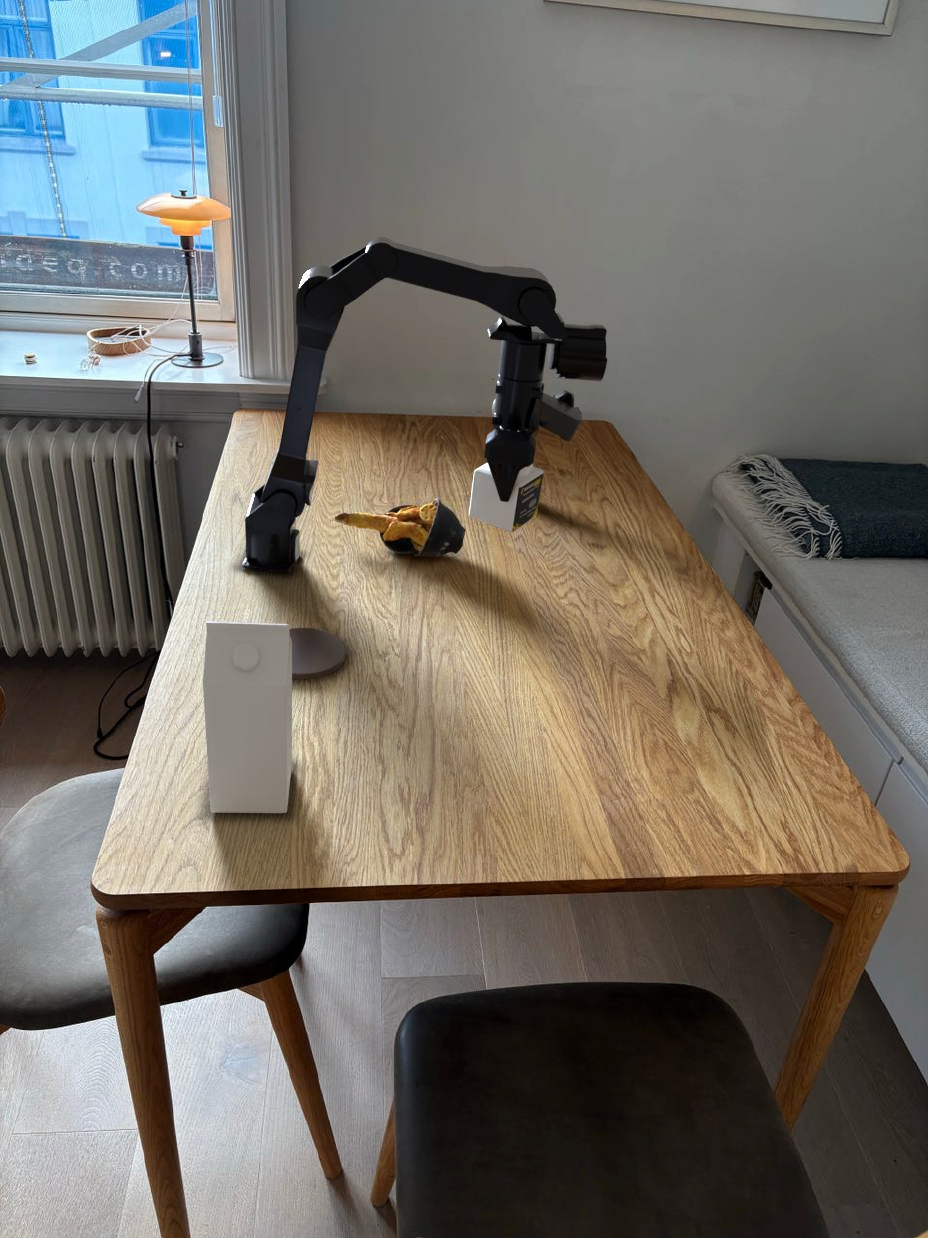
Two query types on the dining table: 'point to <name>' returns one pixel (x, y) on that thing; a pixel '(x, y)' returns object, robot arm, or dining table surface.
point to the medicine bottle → (505, 513)
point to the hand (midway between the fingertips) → (506, 488)
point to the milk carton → (248, 716)
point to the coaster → (315, 653)
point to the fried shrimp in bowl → (413, 528)
